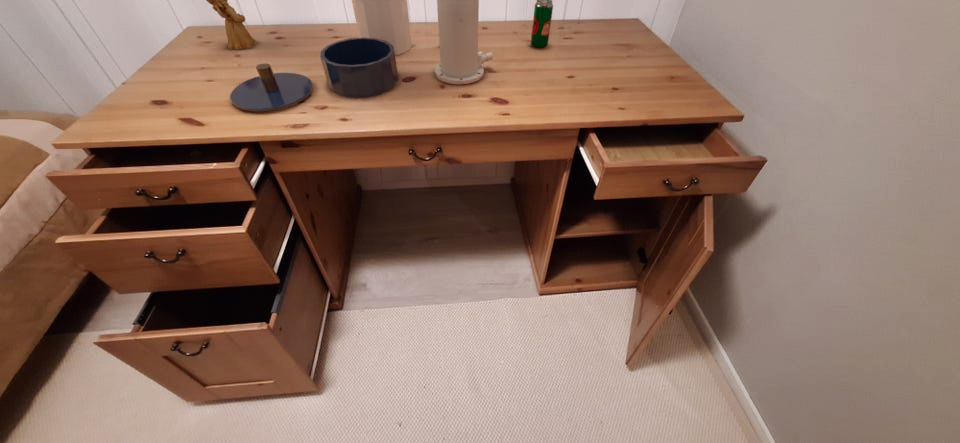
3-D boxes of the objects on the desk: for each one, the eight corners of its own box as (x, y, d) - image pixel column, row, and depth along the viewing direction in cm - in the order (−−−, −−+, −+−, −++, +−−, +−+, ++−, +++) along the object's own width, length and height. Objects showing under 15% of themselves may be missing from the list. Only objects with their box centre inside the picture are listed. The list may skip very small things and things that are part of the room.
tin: (379, 61, 102) (374, 32, 97) (410, 85, 93) (406, 54, 88) (319, 77, 95) (309, 47, 90) (345, 105, 86) (337, 73, 81)
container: (399, 33, 117) (390, -36, 104) (420, 49, 108) (413, -24, 96) (354, 42, 111) (339, -29, 98) (372, 60, 103) (358, -16, 90)
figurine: (259, 46, 108) (235, -13, 97) (230, 52, 105) (202, -9, 94) (253, 38, 112) (229, -21, 102) (224, 43, 109) (197, -16, 98)
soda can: (542, 50, 109) (548, 4, 101) (527, 46, 111) (532, 1, 103) (550, 45, 112) (556, 0, 104) (535, 41, 114) (540, -4, 106)
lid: (299, 71, 98) (290, 44, 93) (325, 98, 88) (316, 70, 83) (224, 89, 90) (210, 61, 85) (243, 122, 80) (228, 92, 75)
